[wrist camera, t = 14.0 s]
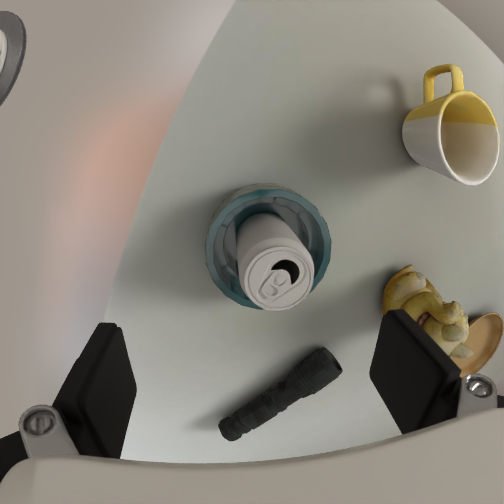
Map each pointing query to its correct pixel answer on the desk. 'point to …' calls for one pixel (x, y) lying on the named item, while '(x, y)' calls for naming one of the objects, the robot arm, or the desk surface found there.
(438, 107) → the mug
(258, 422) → the flashlight
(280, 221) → the beverage can
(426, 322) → the decorative figurine
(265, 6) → the desk surface
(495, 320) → the plant saucer
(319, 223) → the bowl
